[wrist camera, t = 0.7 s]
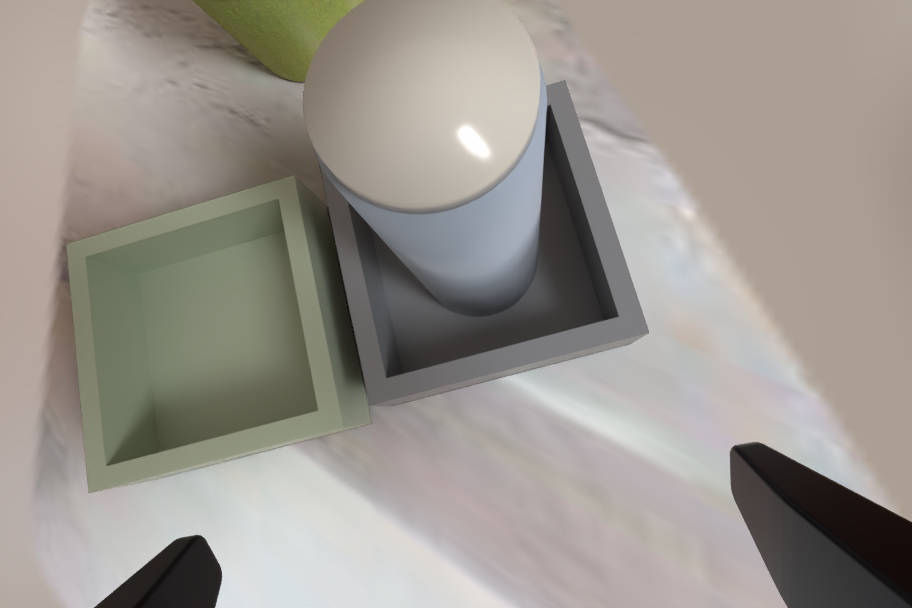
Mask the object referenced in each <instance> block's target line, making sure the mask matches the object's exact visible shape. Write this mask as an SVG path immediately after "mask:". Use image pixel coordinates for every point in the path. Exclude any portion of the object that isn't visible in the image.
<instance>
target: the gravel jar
mask: <svg viewBox="0 0 912 608" xmlns="http://www.w3.org/2000/svg"><path fill="white" fill-rule="evenodd" d="M303 112H304V120H305V125H306V128H307V132H308V135H309V138H310V140H311V142H312V144H313V147H314V151H315V154H316V157H317V159H318V161H319V163H320V166H321V168H322V169H323V171H324V173H325V174H326V176H327V177H328V179H329V180H330V181H331V183H332V184H333V185H334V186H335V187H336V188H337V190H338V191H339V192H340V193H341V194H342V195H343V196H344V197H345V199H346V200H347V201H348V202H349V203H350V204H351V205H352V206H353V207H354V209H355V210H356V211H357V212H358V213H359V214H360V215H361V216H362V218H363V219H364V220H365V221H366V222H367V223H368V224H369V225H370V226H371V228H372V229H373V230H374V231H375V232H376V233H377V234H378V235H379V237H380V238H381V239H382V240H383V241H384V242H385V243H386V244H387V246H388V247H389V248H390V249H391V250H392V251H393V252H394V253H395V254H396V256H397V257H398V258H399V259H400V260H401V261H402V262H403V263H404V265H405V266H406V267H407V268H408V269H409V270H410V271H411V272H412V274H413V275H414V276H415V277H416V278H417V279H418V280H419V281H420V282H421V284H422V285H423V286H424V287H425V288H426V289H427V290H428V291H429V293H430V294H431V295H432V296H433V297H434V298H435V299H436V300H437V301H438V302H439V303H440V304H441V305H442V306H444V307H445V308H447V309H448V310H451V311H453V312H455V313H457V314H460V315H464V316H469V317H486V316H491V315H495V314H498V313H500V312H503V311H505V310H507V309H508V308H510V307H511V306H513V305H514V304H516V303H517V302H518V301H519V300H520V299H521V298H522V297H523V296H524V295H525V294H526V292H527V291H528V289H529V288H530V286H531V284H532V282H533V279H534V277H535V274H536V269H537V260H538V243H539V227H540V211H541V194H542V178H543V161H544V145H545V128H546V112H547V92H546V83H545V79H544V75H543V71H542V68H541V66H540V63H539V61H538V58H537V54H536V50H535V47H534V45H533V43H532V40H531V38H530V36H529V34H528V32H527V31H526V29H525V27H524V26H523V24H522V23H521V22H520V21H519V19H518V18H517V17H516V16H515V15H514V14H513V13H512V12H511V11H510V10H509V9H508V8H507V7H506V6H505V5H503V4H502V3H501V2H499V1H498V0H365V1H363V2H362V3H360V4H359V5H357V6H356V7H354V8H353V9H352V10H350V11H349V12H348V13H347V14H346V15H345V16H343V17H342V18H341V19H340V20H339V21H338V22H337V23H336V24H335V25H334V26H333V28H332V29H331V30H330V31H329V32H328V34H327V35H326V36H325V38H324V39H323V40H322V42H321V44H320V45H319V47H318V49H317V51H316V52H315V54H314V56H313V59H312V61H311V64H310V66H309V69H308V72H307V76H306V80H305V85H304V92H303Z"/></svg>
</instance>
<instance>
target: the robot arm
mask: <svg viewBox="0 0 912 608" xmlns="http://www.w3.org/2000/svg"><path fill="white" fill-rule="evenodd" d="M730 474H731V490H732V494H733V497H734V500H735V502H736V504H737V506H738V508H739V510H740V512H741V514H742V517H743V519H744V521H745V523H746V525H747V527H748V529H749V531H750V533H751V535H752V537H753V539H754V542H755V544H756V546H757V548H758V550H759V552H760V554H761V556H762V558H763V560H764V562H765V564H766V567H767V569H768V571H769V573H770V575H771V577H772V579H773V581H774V583H775V585H776V587H777V589H778V591H779V593H780V595H781V597H782V598H783V600H784V602H785V604H786V605H787V607H788V608H912V522H911V521H909V520H907V519H905V518H903V517H901V516H899V515H897V514H895V513H893V512H892V511H890V510H888V509H886V508H884V507H882V506H880V505H878V504H876V503H874V502H873V501H871V500H869V499H867V498H865V497H863V496H861V495H859V494H857V493H855V492H854V491H852V490H850V489H848V488H846V487H844V486H842V485H840V484H838V483H836V482H835V481H833V480H831V479H829V478H827V477H825V476H823V475H821V474H819V473H817V472H816V471H814V470H812V469H810V468H808V467H806V466H804V465H802V464H800V463H798V462H797V461H795V460H793V459H791V458H789V457H787V456H785V455H783V454H781V453H779V452H778V451H776V450H774V449H772V448H770V447H768V446H766V445H764V444H762V443H759V442H752V443H746V444H740V445H735V446H733V447H732V448H731V451H730ZM221 581H222V571H221V567H220V565H219V563H218V561H217V559H216V557H215V555H214V554H213V552H212V550H211V548H210V546H209V545H208V543H207V541H206V539H205V538H204V537H202V536H201V535H194V536H188V537H182V538H179V539H176V540H175V541H173V542H172V543H171V544H170V545H168V546H167V547H166V548H165V549H164V550H162V551H161V552H160V553H159V554H158V555H157V556H155V557H154V558H153V559H152V560H151V561H149V562H148V563H147V564H146V565H145V566H143V567H142V568H141V569H140V570H139V571H137V572H136V573H135V574H134V575H133V576H131V577H130V578H129V579H128V580H127V581H125V582H124V583H123V584H122V585H121V586H119V587H118V588H117V589H116V590H115V591H113V592H112V593H111V594H110V595H109V596H107V597H106V598H105V599H104V600H103V601H101V602H100V603H99V604H98V605H97V606H96V607H94V608H215V606H216V602H217V598H218V594H219V590H220V586H221Z"/></svg>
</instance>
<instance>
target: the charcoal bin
mask: <svg viewBox="0 0 912 608" xmlns="http://www.w3.org/2000/svg"><path fill="white" fill-rule="evenodd" d="M546 92H547V112H546V128H545V145H544V161H543V178H542V194H541V211H540V227H539V243H538V260H537V269H536V274H535V277H534V279H533V282H532V284H531V286H530V288H529V289H528V291H527V292H526V294H525V295H524V296H523V297H522V298H521V299H520V300H519V301H518V302H517V303H516V304H514V305H513V306H511V307H510V308H508V309H507V310H505V311H503V312H500V313H498V314H495V315H491V316H486V317H469V316H464V315H460V314H457V313H455V312H453V311H451V310H448V309H447V308H445V307H444V306H442V305H441V304H440V303H439V302H438V301H437V300H436V299H435V298H434V297H433V296H432V295H431V294H430V293H429V291H428V290H427V289H426V288H425V287H424V286H423V285H422V284H421V282H420V281H419V280H418V279H417V278H416V277H415V276H414V275H413V274H412V272H411V271H410V270H409V269H408V268H407V267H406V266H405V265H404V263H403V262H402V261H401V260H400V259H399V258H398V257H397V256H396V254H395V253H394V252H393V251H392V250H391V249H390V248H389V247H388V246H387V244H386V243H385V242H384V241H383V240H382V239H381V238H380V237H379V235H378V234H377V233H376V232H375V231H374V230H373V229H372V228H371V226H370V225H369V224H368V223H367V222H366V221H365V220H364V219H363V218H362V216H361V215H360V214H359V213H358V212H357V211H356V210H355V209H354V207H353V206H352V205H351V204H350V203H349V202H348V201H347V200H346V199H345V197H344V196H343V195H342V194H341V193H340V192H339V191H338V190H337V188H336V187H335V186H334V185H333V184H332V183H331V181H330V180H329V179H328V177H327V176H326V174H325V173H324V171H323V169H322V168H321V166H320V170H321V175H322V180H323V185H324V189H325V194H326V199H327V204H328V209H329V213H330V218H331V223H332V228H333V233H334V237H335V242H336V247H337V252H338V257H339V261H340V266H341V271H342V276H343V281H344V285H345V290H346V295H347V300H348V304H349V309H350V314H351V319H352V324H353V328H354V333H355V338H356V343H357V348H358V352H359V357H360V362H361V367H362V372H363V376H364V381H365V386H366V391H367V396H368V400H369V405H370V406H394V405H398V404H402V403H406V402H409V401H413V400H417V399H421V398H425V397H429V396H433V395H436V394H440V393H444V392H448V391H452V390H456V389H459V388H463V387H467V386H471V385H475V384H479V383H482V382H486V381H490V380H494V379H498V378H502V377H506V376H509V375H513V374H517V373H521V372H525V371H529V370H532V369H536V368H540V367H544V366H548V365H552V364H556V363H559V362H563V361H567V360H571V359H575V358H579V357H582V356H586V355H590V354H594V353H598V352H602V351H605V350H609V349H613V348H617V347H621V346H625V345H629V344H631V343H633V342H635V341H636V340H638V339H640V338H641V337H643V336H645V335H646V334H648V333H649V330H648V327H647V324H646V321H645V318H644V315H643V312H642V309H641V306H640V303H639V300H638V297H637V294H636V291H635V288H634V285H633V282H632V279H631V276H630V273H629V270H628V267H627V264H626V261H625V258H624V255H623V252H622V249H621V246H620V243H619V240H618V237H617V234H616V231H615V228H614V225H613V222H612V219H611V216H610V213H609V210H608V207H607V204H606V201H605V198H604V195H603V192H602V189H601V186H600V183H599V180H598V177H597V174H596V171H595V168H594V165H593V162H592V159H591V156H590V153H589V150H588V147H587V144H586V141H585V138H584V135H583V132H582V129H581V126H580V123H579V120H578V117H577V114H576V111H575V108H574V105H573V102H572V99H571V96H570V93H569V90H568V87H567V84H566V81H565V80H564V81H560V82H557V83H554V84H551V85H547V86H546ZM319 165H320V163H319Z"/></svg>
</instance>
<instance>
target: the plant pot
mask: <svg viewBox="0 0 912 608" xmlns="http://www.w3.org/2000/svg"><path fill="white" fill-rule="evenodd" d="M193 1H194V2H195V3H196V4H198V5H199V6H200V7H201V8H202V9H203V10H204V11H205V12H206V13H208V14H209V15H210V16H211V17H212V18H213V19H214V20H215V21H216V22H218V23H219V24H220V25H221V26H222V27H223V28H224V29H225V30H227V31H228V32H229V33H230V34H231V35H232V36H233V37H234V38H235V39H237V40H238V41H239V42H240V43H241V44H242V45H243V46H244V47H245V48H246V49H247V50H248V51H249V52H251V53H252V54H253V55H254V56H255V57H256V58H257V59H258V60H259V61H260V62H262V63H263V64H264V65H265V66H266V67H267V68H268V69H269V70H271V71H272V72H273V73H275V74H276V75H278V76H280V77H282V78H285V79H288V80H292V81H298V82H305V80H306V76H307V72H308V69H309V66H310V64H311V61H312V59H313V56H314V54H315V52H316V51H317V49H318V47H319V45H320V44H321V42H322V40H323V39H324V38H325V36H326V35H327V34H328V32H329V31H330V30H331V29H332V28H333V26H334V25H335V24H336V23H337V22H338V21H339V20H340V19H341V18H342V17H343V16H345V15H346V14H347V13H348V12H349V11H350V10H352V9H353V8H354V7H356V6H357V5H359V4H360V3H362V2H363V1H365V0H193Z"/></svg>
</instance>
